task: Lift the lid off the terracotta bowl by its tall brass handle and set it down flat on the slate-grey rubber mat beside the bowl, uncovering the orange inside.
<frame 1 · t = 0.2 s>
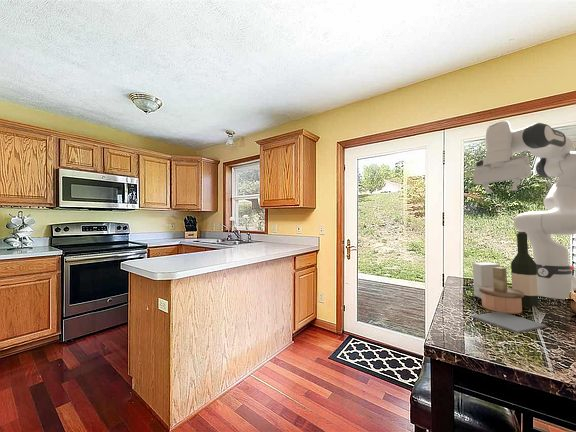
hand: (500, 191, 108), 47 cm above the table, tool pointing down, fingers open, 8 cm apart
bowl: (501, 308, 100), on the table
skincare box: (487, 298, 114), on the table
mat: (507, 321, 86), on the table
lid: (500, 293, 100), point 6 cm above the table, touching bowl
wine bottle: (525, 303, 106), on the table
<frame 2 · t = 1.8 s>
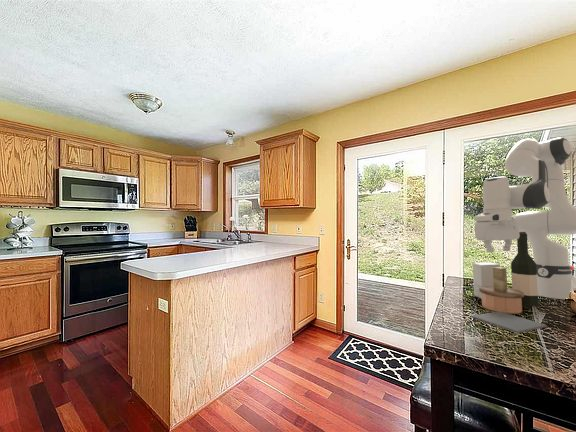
hand: (498, 251, 101), 22 cm above the table, tool pointing down, fingers open, 8 cm apart
nothing on the table moved.
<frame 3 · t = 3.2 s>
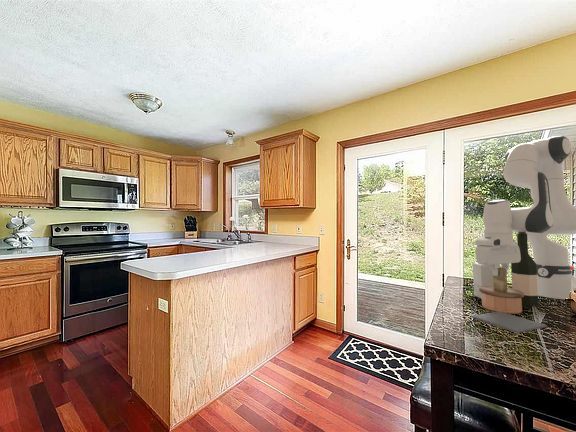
hand: (499, 275, 100), 13 cm above the table, tool pointing down, fingers closed on lid, 3 cm apart
lid: (500, 293, 100), point 6 cm above the table, touching bowl, gripper
everything else where it was.
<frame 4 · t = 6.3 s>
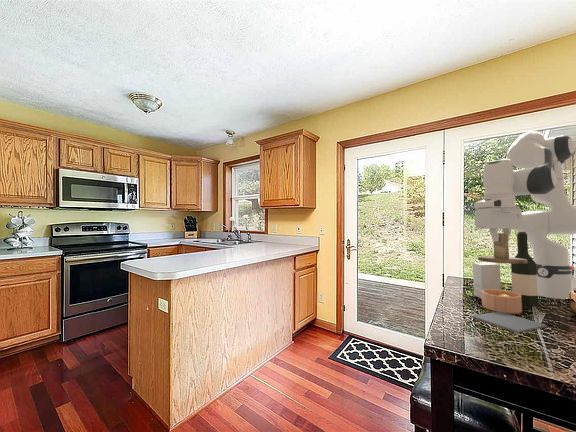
hand: (500, 241, 91), 27 cm above the table, tool pointing down, fingers closed on lid, 3 cm apart
lid: (501, 261, 91), point 20 cm above the table, touching gripper
everything else where it was.
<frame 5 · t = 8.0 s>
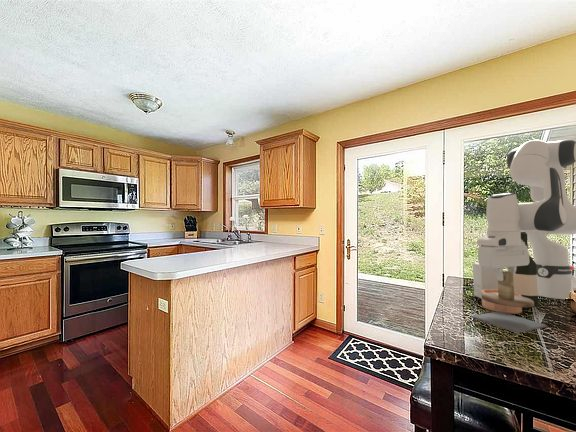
hand: (505, 280, 87), 14 cm above the table, tool pointing down, fingers closed on lid, 3 cm apart
lid: (506, 300, 87), point 7 cm above the table, touching gripper
everything else where it was.
when the fingers open (9 cm above the table, at t = 9.4 s): lid drops 1 cm, resting on mat.
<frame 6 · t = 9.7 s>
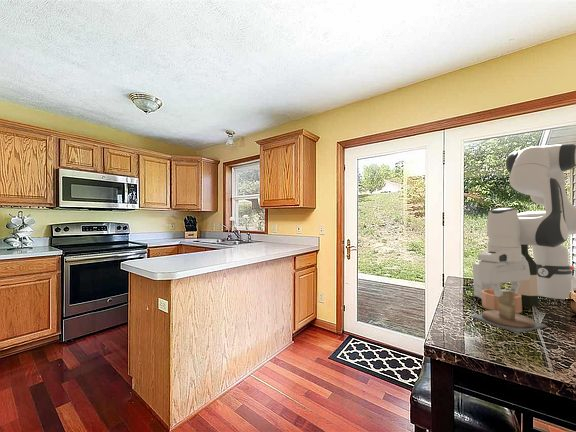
hand: (506, 295, 87), 9 cm above the table, tool pointing down, fingers open, 6 cm apart
lid: (507, 320, 86), point 1 cm above the table, touching mat
everything else where it was.
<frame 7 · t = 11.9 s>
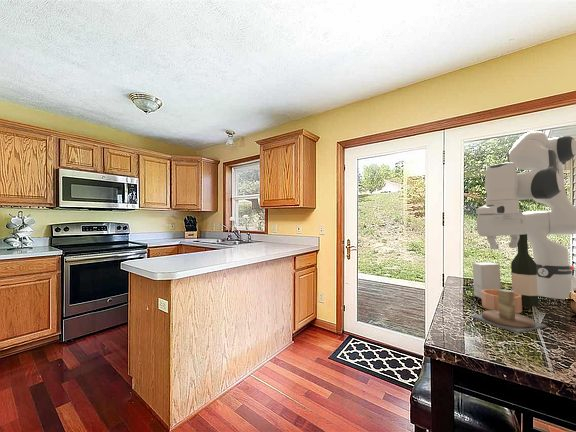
hand: (504, 248, 88), 25 cm above the table, tool pointing down, fingers open, 8 cm apart
nothing on the table moved.
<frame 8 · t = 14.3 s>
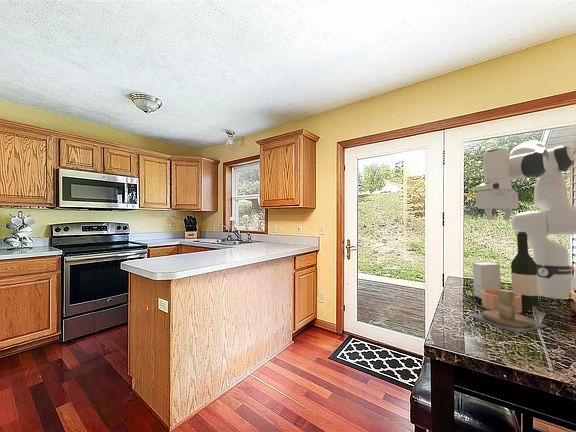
hand: (498, 219, 104), 35 cm above the table, tool pointing down, fingers open, 8 cm apart
nothing on the table moved.
at the end: lid inside the target area on the mat (0.1 cm from its centre), point 0.6 cm above the mat's base; lid tilted 0°; the gripper is holding nothing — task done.
